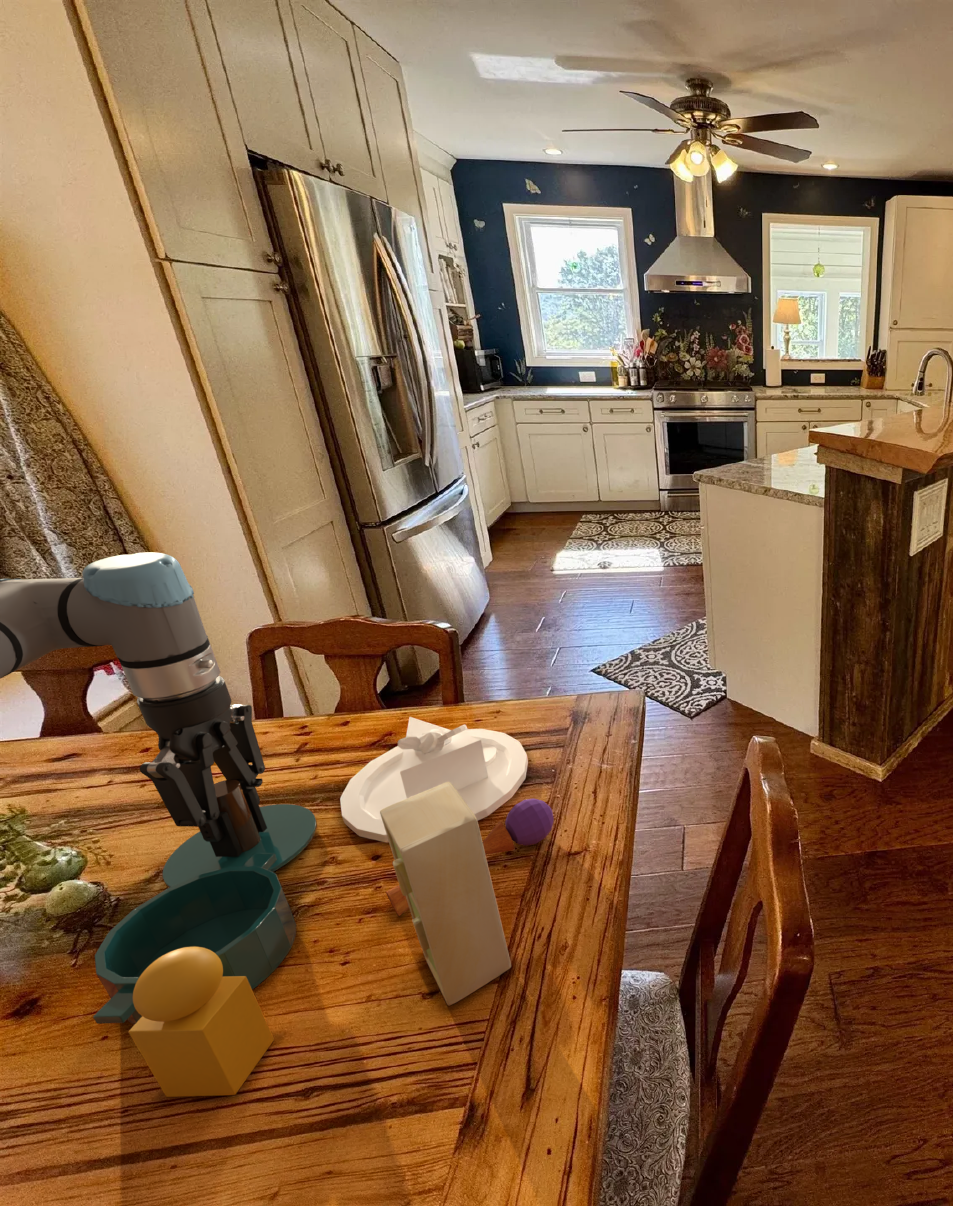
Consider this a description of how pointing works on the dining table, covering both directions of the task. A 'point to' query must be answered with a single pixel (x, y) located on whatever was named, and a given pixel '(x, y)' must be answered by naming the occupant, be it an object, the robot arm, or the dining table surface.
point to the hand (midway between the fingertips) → (242, 841)
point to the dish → (435, 773)
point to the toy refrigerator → (447, 889)
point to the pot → (200, 931)
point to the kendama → (503, 837)
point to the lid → (244, 836)
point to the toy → (197, 1024)
